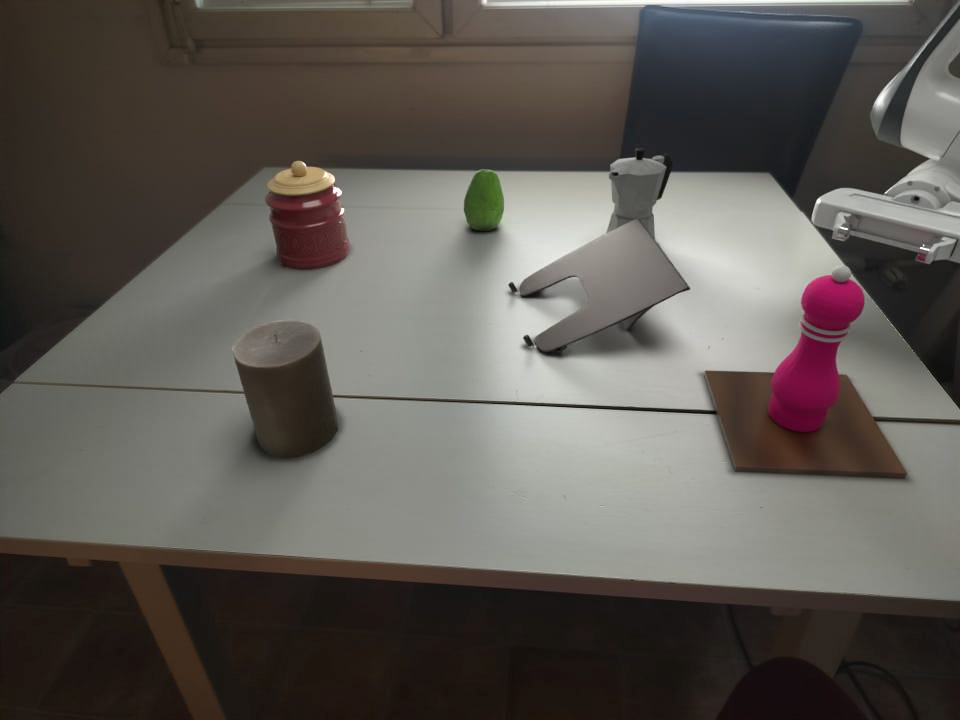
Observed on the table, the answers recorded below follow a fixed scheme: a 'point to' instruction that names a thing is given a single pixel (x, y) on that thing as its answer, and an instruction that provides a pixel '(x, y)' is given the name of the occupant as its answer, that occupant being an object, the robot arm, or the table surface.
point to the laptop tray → (607, 284)
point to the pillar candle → (287, 387)
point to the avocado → (484, 201)
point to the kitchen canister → (307, 217)
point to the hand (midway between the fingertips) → (880, 245)
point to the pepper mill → (816, 353)
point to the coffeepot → (638, 188)
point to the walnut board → (774, 449)
